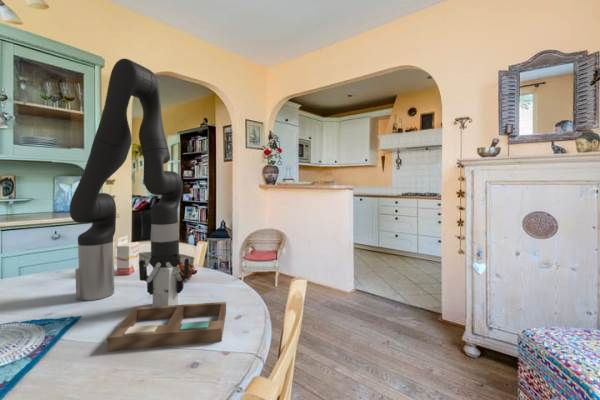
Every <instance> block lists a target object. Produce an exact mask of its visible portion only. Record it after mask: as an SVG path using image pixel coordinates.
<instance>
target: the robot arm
mask: <svg viewBox="0 0 600 400" xmlns="http://www.w3.org/2000/svg"><path fill="white" fill-rule="evenodd" d="M159 85H160V84H159V81H158V77H157V76H156V74H155V73H154V72H153V71H152V70H150V69H149V68H148V67H145V66H143V65H142V64H139V63H137V62H135V61H133V60H132V59H128V58H120V59H119V60H117V61H116V62H115V64H114V65H113V68H112V69H111V72H110V76H109V81H108V86H107V90H106V91H107V92H106V97H105V102H104V105H103V109H102V114H101V117H100V121H99V124H98V127H97V130H96V132H95V135H94V138H93V141H92V144H91V147H90V153H89V155H88V160H86V161H87V162H86V164H85V167H84V170H83V173H82V175H81V178H80V179H79V182H78V184H77V186H76V189H75V191H74V193H73V195H72V197H71V200H70V203H69V215H70V217H71V219H72V221H73V222H75V223H77V224H88V223H89V224H90V223H91V226H90V227H89V228H88V229H87V230H86V231H84V232H82V233H80V234H79V235H78V236H77V249H78V250H77V251H78V253H77V254H78V257H77V258H78V267H77V268H75V293H76V294H75V299H76V300H81V301H96V300H100V299H104V298H107V297H109V296H111V295H113V294H115V266H114V265H115V264H114V263H115V261H114V235H116V229H117V228H116V225H117V223H116V220H117V205H116V201H115V199H114V197H113V196H112V195H111V194H110V193H106V192H101V189H102V187H103V185H104V184H105V183H106V182H107V180H108V179H110V178H111V176H113V175H114V174H115V173H116V172H117V171H119V169H120V168H121V167H122V166H123V165H124V163H125V162H126V160H127V158H128V156H129V152H130V149H131V146H132V141H133V140H132V139H133V138H132V132H131V129H130V124H129V121H128V107H129V103H130V99H131V97H135V98H137V99H139V103H140V105H141V107H142V120H141V123H140V126H139V130H138V140H139V145H140V148H141V149H140V150H141V151H142V156H143V175H142V176H143V177H142V178H143V184H144V186H145V189H146V190H147V192H148V193H150V194H151V195H154V196H161V197H160V200H159V202H157V203H155V204H153V205H151V210H150V211H151V213H150V214H151V216H150V217H151V218H150V219H151V225H150V226H151V228H150V258H149V259H146V258H142V259H141V260H140V259H139V269H138V273H139V280H140V281H142V282H143V281H144V282H146V291H147V293H148V294H149V295H151V296H153V277H154V276H155V274H156V272H157V271H158V269H159V268H160V267H168V268H170V267H173V271H174V272H173V275H174V276H175V277H176V278H177V279H178V281H177V293H178V294H181V292H182V291H183V289H184V282H183V280H184V279H185V280H187V279H189V278H188V277H189V276H190V261H191V257H190V256H188V257H181V256H180V231H179V225H178V224H179V215H178V209H179V205H180V202H181V197H182V194H183V186H184V184H183V179H182V177H181V176H180V174H179V173H177V172H175V171H172V170H164V164H167V163H169V161H170V160H171V153H170V150H169V145H168V142H167V139H166V136H165V131H164V130H165V129H164V126H163V125H164V124H163V118H162V117H163V115H162V105H161V104H162V103H161V93H160V86H159ZM180 262H182V265H184V274H182V273H181V271H180V269H179V270H176V269H175V268H174V267H176V266H177V265H178V264H179V263H180ZM149 265H151V266H152V271H151V272H150V274H149V275H148V269H147V267H148V266H149ZM153 268H154V269H153Z"/></svg>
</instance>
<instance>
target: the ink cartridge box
mask: <svg viewBox="0 0 600 400" xmlns="http://www.w3.org/2000/svg"><path fill="white" fill-rule="evenodd" d="M139 261H140V242H139V241H135V242H134V241H132V242H130V241H129V235H124V236H122V237H118V238H117V241H116V275H117V276H130V275H131V273H132V274H133V273H135V272H137V271H139Z"/></svg>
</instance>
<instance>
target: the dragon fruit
mask: <svg viewBox="0 0 600 400" xmlns="http://www.w3.org/2000/svg"><path fill="white" fill-rule="evenodd" d="M178 266H179V269H180V271H181V273H182V274H184V265H182V262H180V263H179V264H178ZM197 273H198V270H197V269H196V268H195V266H194V264H193V263H192V261H191V260H190V276H189V277H188V278H187V279H188V280H189V279H191V278H192V277H193V275H196V274H197ZM185 280H186V279H184V280H183V283H185V282H186V281H185Z"/></svg>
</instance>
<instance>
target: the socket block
mask: <svg viewBox="0 0 600 400" xmlns="http://www.w3.org/2000/svg"><path fill="white" fill-rule="evenodd" d="M226 313H227V301H218V302H204V303H203V302H202V303H188V304H177V305H170V306H154V307H153V306H142V307H141V306H140V307H134V308H133V309H132V310H130V312H129V313H128V314H127V315H126V316H125V317H124V319H123V320H122V321H121V322H119V324H118V325H117V326H116V328H115V329H114V330H113V331H111V333H110V334H109V335H108V336H107V338H106V344H107V345H106V346H107V347H106V348H107V349H106V350H107V352H111V351H112V352H114V351H124V350H125V351H126V350H138V349H147V348H149V349H150V348H158V347H168V346H169V347H171V346H179V345H182V346H183V345H190V344H192V345H193V344H202V343H213V342H214V343H215V342H222V340H223V334H224V327H225V320H226V315H227V314H226ZM215 315H216V316H217V315H218V318H217V320H211V321H210V320H204V321H203V320H201V321H188V322H183V320H184V318H190V317H191V318H192V317H202V316H215ZM162 319H169V321H168V322H167V324H149V325H135V324H136V323H137V322H138V321H148V320H162Z"/></svg>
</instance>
